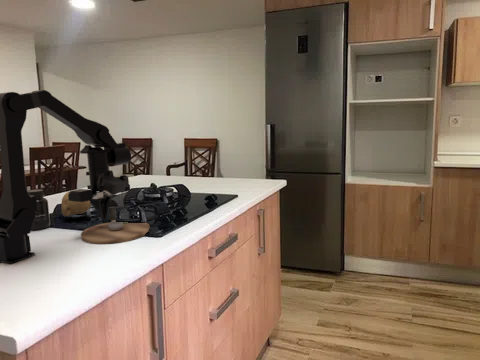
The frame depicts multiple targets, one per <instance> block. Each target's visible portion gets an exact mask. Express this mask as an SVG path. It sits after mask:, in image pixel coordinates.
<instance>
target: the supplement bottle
mask: <svg viewBox="0 0 480 360" xmlns="http://www.w3.org/2000/svg"><path fill="white" fill-rule="evenodd" d="M27 191H28V193H29V195H33V196H36V197H37V209H38V211H39V212H36V218H35V220H34V221H33V222H32V227H31V231H40V230H41V231H42V230H45V229H48V228H50V227H51V219H50V218H51V217H50V209H49V201H48V199H47V198H46V197H45V194H44V189H30V190H27Z"/></svg>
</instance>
